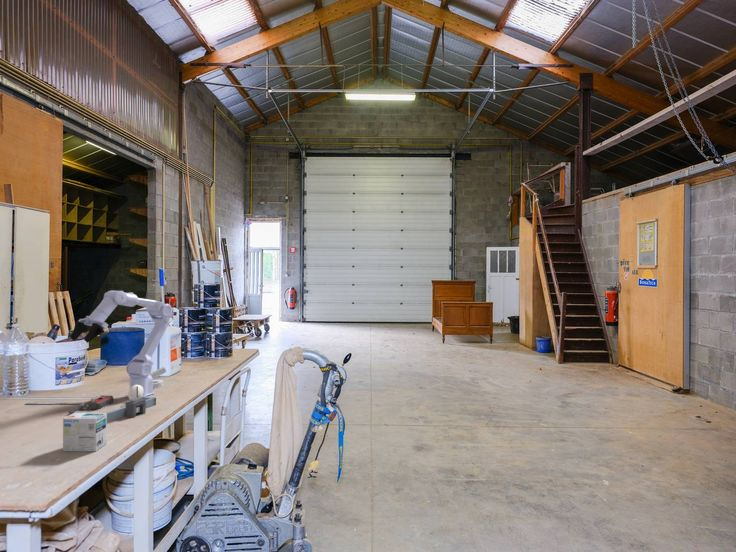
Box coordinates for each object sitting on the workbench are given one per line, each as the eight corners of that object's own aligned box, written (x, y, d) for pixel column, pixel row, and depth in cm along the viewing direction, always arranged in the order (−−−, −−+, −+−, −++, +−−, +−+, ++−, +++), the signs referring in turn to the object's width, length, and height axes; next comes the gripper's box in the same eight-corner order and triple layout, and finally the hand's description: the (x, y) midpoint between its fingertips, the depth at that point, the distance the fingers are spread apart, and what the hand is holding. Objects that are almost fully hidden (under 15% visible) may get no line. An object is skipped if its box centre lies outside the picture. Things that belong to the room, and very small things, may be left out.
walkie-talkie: (95, 401, 201) (66, 416, 181) (95, 391, 201) (66, 405, 181) (115, 402, 201) (89, 416, 181) (115, 391, 201) (89, 405, 181)
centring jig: (131, 401, 201) (132, 374, 201) (165, 406, 195) (165, 378, 195) (73, 419, 176) (74, 388, 176) (110, 425, 170) (110, 393, 170)
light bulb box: (107, 444, 152) (107, 411, 152) (96, 452, 145) (96, 418, 145) (74, 444, 152) (74, 411, 152) (61, 452, 145) (62, 418, 145)
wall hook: (168, 367, 226) (146, 370, 220) (168, 387, 226) (146, 390, 220) (164, 364, 233) (142, 367, 227) (163, 383, 233) (142, 386, 227)
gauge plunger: (124, 409, 186) (124, 404, 186) (139, 411, 184) (139, 406, 184) (120, 410, 184) (120, 405, 184) (135, 413, 182) (135, 408, 182)
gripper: (82, 306, 192) (59, 332, 183) (108, 309, 187) (85, 336, 178) (93, 316, 197) (71, 342, 188) (118, 319, 191) (96, 346, 183)
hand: (78, 340), depth 183 cm, fingers open, 7 cm apart
